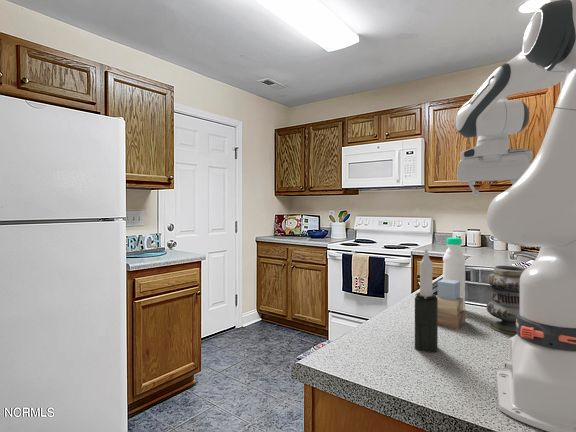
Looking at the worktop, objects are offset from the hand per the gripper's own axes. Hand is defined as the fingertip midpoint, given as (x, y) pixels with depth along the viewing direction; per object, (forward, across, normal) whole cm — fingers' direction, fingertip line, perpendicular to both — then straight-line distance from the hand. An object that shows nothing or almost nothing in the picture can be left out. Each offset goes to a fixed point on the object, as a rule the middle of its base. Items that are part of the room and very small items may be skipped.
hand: (492, 195), depth 109 cm
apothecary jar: (+39, -6, +7) cm, 40 cm away
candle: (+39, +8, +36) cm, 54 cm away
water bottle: (+39, +12, -3) cm, 41 cm away
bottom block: (+40, +10, +12) cm, 42 cm away
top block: (+36, +10, +12) cm, 39 cm away
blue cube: (+32, +10, +12) cm, 35 cm away
